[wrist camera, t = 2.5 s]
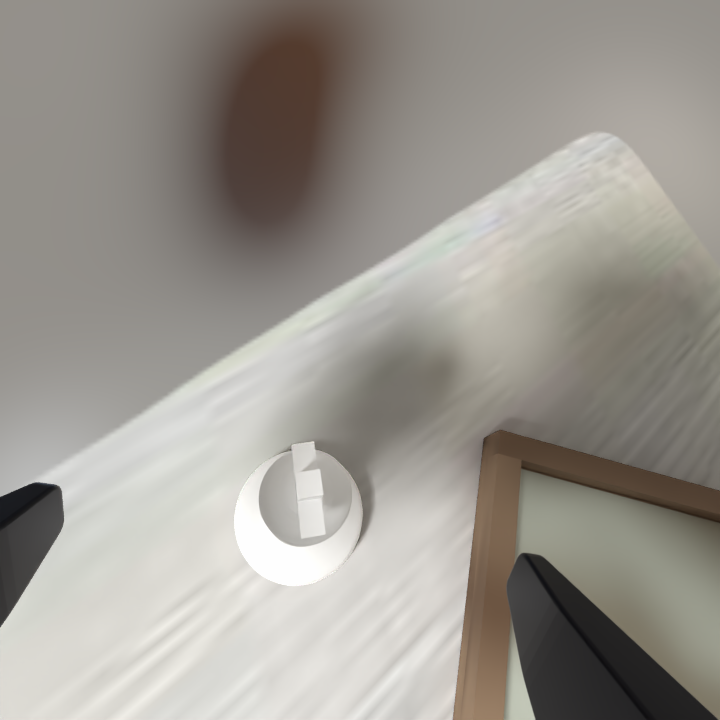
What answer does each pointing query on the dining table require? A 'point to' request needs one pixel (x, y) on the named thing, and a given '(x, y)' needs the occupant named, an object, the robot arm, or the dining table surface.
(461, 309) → the dining table surface
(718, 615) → the walnut tray
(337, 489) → the chess piece
